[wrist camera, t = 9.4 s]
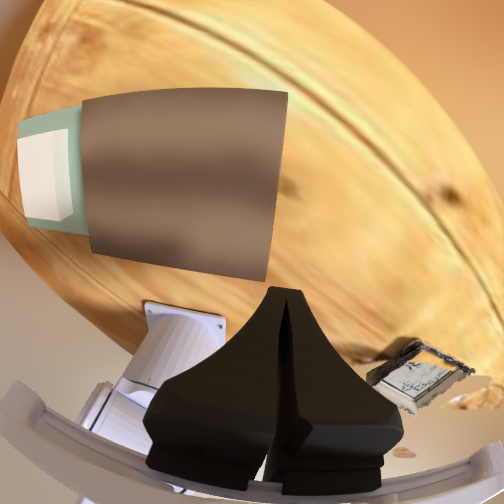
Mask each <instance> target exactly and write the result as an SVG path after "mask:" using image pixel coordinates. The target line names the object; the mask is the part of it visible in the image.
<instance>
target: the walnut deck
mask: <svg viewBox="0 0 504 504" xmlns="http://www.w3.org/2000/svg"><path fill="white" fill-rule="evenodd" d="M287 104H288V92H281V91H272V90H260V89H244V88H175V89H160V90H149V91H139V92H131V93H123V94H117V95H110V96H104V97H99V98H93V99H88V100H84V101H82V116H81V156H82V176H83V189H84V200H85V209H86V217H87V225H88V231H89V238H90V244H91V250H92V253H96V254H101V255H106V256H111V257H117V258H122V259H127V260H133V261H138V262H144V263H149V264H155V265H160V266H166V267H172V268H178V269H184V270H190V271H196V272H202V273H208V274H214V275H221V276H227V277H233V278H240V279H247V280H253V281H260V282H265V279H266V273H267V268H268V262H269V255H270V247H271V239H272V232H273V224H274V216H275V208H276V200H277V192H278V184H279V175H280V167H281V158H282V149H283V141H284V132H285V122H286V113H287Z"/></svg>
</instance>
